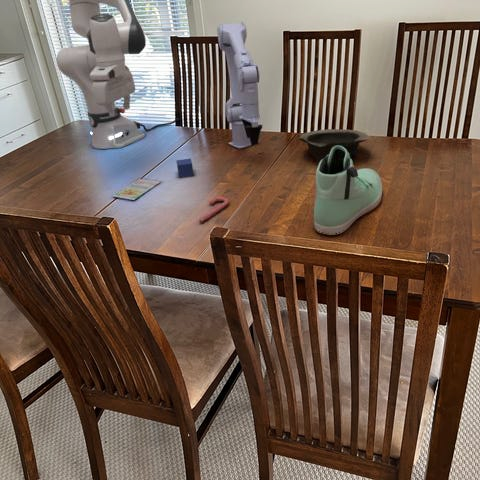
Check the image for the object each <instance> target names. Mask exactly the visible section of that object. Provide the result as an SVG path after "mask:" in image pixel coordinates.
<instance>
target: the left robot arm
mask: <svg viewBox="0 0 480 480" xmlns="http://www.w3.org/2000/svg"><path fill="white" fill-rule="evenodd" d="M68 2H69V11H70V21H71V28H72V30H73V32H74V33H76V34H77V35H78V36H81V37H83V38H85V39H87V40H88V44H87V45H76V46H69V47H66V48H65V47H64V48H62V49H60V50H59V51H58V53H57V55H56V65H57V68H58V70H59V71H60V72H61V73H62V74H63V75H64V76H65V77H67V78H69V79H70V80H72V81H73V82H74V83H75V84H76V85H77V86H78V88H79V89H80V91H81V93H82V95H83V98H84V101H85V104H86V109H87V118H88V122H89V125H90V127H91V128H90V129H91V131H90V134H91V137H92V138H91V140H92V141H91V147H92V148H94V149H98V150H107V149H121V148H122V149H123V148H124V147H127V146H128V145H131V144H132V143H135V142H137V141H139V140H141V139H143V138H145V137H146V135H145V133H144V132H142V131H140V130H141V127H142V128H143V130H144V131H145V132H150V131H153V130H154V129H157V128H159V127H164V126H169V125H173V124H175V123H176V122H178V121H180V122H182V121H183V119H182V118H179V117H177V118H175V119H174V120H173V121H170V122H165V123H159V124H156V125H154V126H152V127H151V128H146V126H145V124H143V123H140V122H138V121H134V120H131V119H129V118H127V117H125V116H123V115H122V114H125V112H126V110H129V109H130V108H131V105H130V103H131V102H130V101H131V95H132V94H134V93H136V84H135V80H134V76H133V74H132V72H131V70H130V68H129V67H128V66H127V65H126V57H125V55H140V53H142V52H143V50H144V49H145V48H146V43H147V39H146V34H145V32H144V29H143V27H142V26H141V23H140V22H139V20H138V18H137V16H136V14H135V10H134V9H133V7H132V4H131V2H130V0H68ZM100 4H102V5H107V6H110V7H113V8H115V9H116V10H118V11H119V13H120V16H121V18H122V20H123V22H119V23H117V21H116V18H115V17H114V15H112V14H110V13H109V14H107V13H101V7H100ZM121 99H123V104H122V107H117V106H116V103H115V102H117V101H120V100H121ZM139 129H140V130H139Z"/></svg>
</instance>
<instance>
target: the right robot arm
mask: <svg viewBox="0 0 480 480" xmlns="http://www.w3.org/2000/svg"><path fill="white" fill-rule="evenodd" d="M216 30H217V31H216V32H217V33H216V34H217V40H218V45H219V46H218V47H219V50H220V51H223V52H224V55H225V57H226V63H227V70H228V77H229V86H230V93H231V97H230V98H229V99H228V100H227V101H226V103H225V113H226V120H227V122H228V123H229V124H231V125H230V127H231V138H232V139H231V140H232V141H230V142H228V145H230V146H232V147H234V148H237V149H239V150H240V149H243V148H247V147H250V146H256V145H258V144H259V140H260V139H259V138H260V134H261V131H262V129H263V125H262V124H259V120H260V117H261V114H260V108H259V107H260V106H259V86H258V84H259V83H260V69H259V65H258V64H256V63H254V60H253V58H252V55H251V53H250V51H249V50H247V49H246V46H245V44H246V42H247V41H246V40H247V35H248V34H247V33H248V32H247V31H248V30H247V26H246V23H245V22H243V21H241V22H234V23H226V24H225V23H224V24H218V26H217V28H216Z"/></svg>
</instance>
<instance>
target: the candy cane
mask: <svg viewBox="0 0 480 480" xmlns="http://www.w3.org/2000/svg"><path fill="white" fill-rule="evenodd" d="M217 202H222V203H221V204H219V205H217V206H216V207H215V208H213V209H211V210H210V211H209V212H207V213H206V214H204V215H203V216H202V217H200V218H199V219H198V221H199V223H204V222H205V221H207V220H208V219H210V218H211V217H213V216H214V215H216V214H217V213H218V212H220V211H222V210H223V209H225V208H226V207H227V206H229V204H230V199H228V198H227V197H224V196H216V197H213V198H211V199H210V201H209V204H210V205H214V204H215V203H217Z"/></svg>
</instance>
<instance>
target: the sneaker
mask: <svg viewBox="0 0 480 480" xmlns="http://www.w3.org/2000/svg"><path fill="white" fill-rule="evenodd" d="M317 165H318V166H317V168H316V172H315V201H314V207H313V225H314V229H315V231H316V232H318V233H320V234H323V235H326V236H327V235H328V236H336V235H339V234H342V233H344V232H345V231H347V230H348V229H349V228H350V227H351V226H352V225H353V224H354V222H356V221H357V220H358V219H359V218H360V217H362V216H363V215H365V214H367V213H370V212H372V210H374V209H375V208H377V207H378V205H380V203H381V200H382V196H383V184H382V183H383V182H382V179H381V176H380V175H379V173H378V172H377V171H376V170H374V169H372V168H367V167H365V168H358V169H357V168H355V167H354V161H353V159H352V158H351V157H350V156H349V153H348V152H347V150H346V149H345V148H344V147H342V146H334V147H333V148H332V149H331V152H330V154H329V155H327V156H326V157H325V158H324V159H322V160H321V161H320V162H318V164H317ZM343 230H344V231H343ZM319 231H320V232H319ZM322 232H323V233H322ZM339 232H340V233H339ZM326 233H327V234H326ZM328 233H329V234H328ZM335 233H337V234H335Z"/></svg>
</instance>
